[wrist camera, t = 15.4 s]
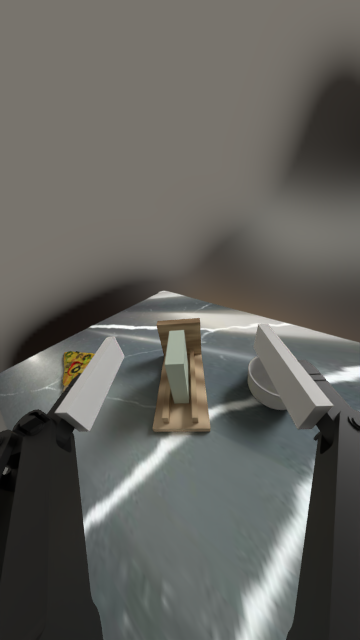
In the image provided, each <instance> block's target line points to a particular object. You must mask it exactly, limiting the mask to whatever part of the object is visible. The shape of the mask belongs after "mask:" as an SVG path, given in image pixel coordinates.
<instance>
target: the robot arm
mask: <svg viewBox="0 0 360 640" xmlns="http://www.w3.org/2000/svg"><path fill="white" fill-rule="evenodd" d="M254 349H255V351H256V353H257V355H258V357H259V358H260V360H261V362H262V364H263V366H264V368H265V370H266V371H267V373H268V375H269V377H270V379H271V381H272V383H273V384H274V386H275V388H276V390H277V392H278V394H279V396H280V397H281V399H282V401H283V403H284V405H285V407H286V409H287V410H288V412H289V414H290V416H291V418H292V420H293V422H294V423H295V425H296V427H297V429H312V428H313V427H314V426H315V425H317V427H318V429H319V430H320V432H319V433H318V434H317V435H316V436H315V437H314V440H317V439H318V443H317V451H316V458H315V466H314V473H313V481H312V488H311V496H310V503H309V510H308V518H307V525H306V533H305V540H304V548H303V555H302V563H301V570H300V578H299V585H298V593H297V600H296V607H295V615H294V621H293V624H292V627H291V629H290V631H289V632H288V635H287V638H286V640H360V412H359V411H356V410H353V409H352V408H351V407H350V406H349V405H348V404H347V403H346V401H345V400H344V399H343V398H342V397H341V396H340V395H339V394H338V392H337V391H336V390H335V389H334V388H333V387H332V386H331V385H330V383H329V382H328V381H326V379H325V378H324V377H323V376H322V375H321V374H320V372H319V371H318V370H317V369H316V368H315V367H314V366H313V365H312V364H310V363H309V362H307V361H306V360H297V359H296V358H295V357H294V356H293V354H292V353H291V352H290V351H289V349H288V348H287V347H286V346H285V344H284V343H283V342H282V341H281V339H280V338H279V337H278V336H277V334H276V333H275V332H274V331H273V329H272V328H271V327H270V326H269V324H258V329H257V333H256V338H255V343H254ZM123 358H124V354H123V352H122V350H121V348H120V347H119V345H118V343H117V341H116V339H115V337H107V338H106V339H105V341H104V342H103V343H102V345H101V346H100V348H99V349H98V351H97V352H96V354H95V355H94V356H93V358H92V359H91V361H90V362H89V364H88V365H87V367H86V368H85V369H84V371H83V372H82V373H79V374H78V375H77V376H75V377H74V378H73V379H72V381H71V382H70V383H69V385H68V387H67V388H66V389H65V390H64V393H62V394H61V396H60V397H59V399H58V400H57V401H56V403H55V404H54V405H53V407H52V408H51V410H50V411H49V412H48V414H45V413H44V412H42V411H41V410H39V409H38V410H33V411H31V412H29V413H27V414H26V415H25V416H23V417H22V418H21V419H20V420H19V421H18V422H17V423H16V425H15V426H14V428H13V430H12V431H11V430H5V431H2V432H0V640H103V635H102V627H101V621H100V615H99V612H98V609H97V607H96V606H95V604H94V603H93V601H92V597H91V592H90V583H89V573H88V564H87V554H86V545H85V535H84V526H83V516H82V506H81V497H80V487H79V478H78V468H77V459H76V449H75V440H74V434H73V433H72V432H73V430H74V428H75V429H77V430H78V431H90V430H91V427H92V425H93V423H94V421H95V419H96V417H97V414H98V412H99V410H100V408H101V406H102V404H103V402H104V399H105V397H106V395H107V393H108V391H109V389H110V386H111V384H112V382H113V380H114V378H115V376H116V373H117V371H118V369H119V367H120V365H121V363H122V360H123ZM5 467H7V468H8V471H7V473H6V474H5V475H3V471H4V469H5Z"/></svg>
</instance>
